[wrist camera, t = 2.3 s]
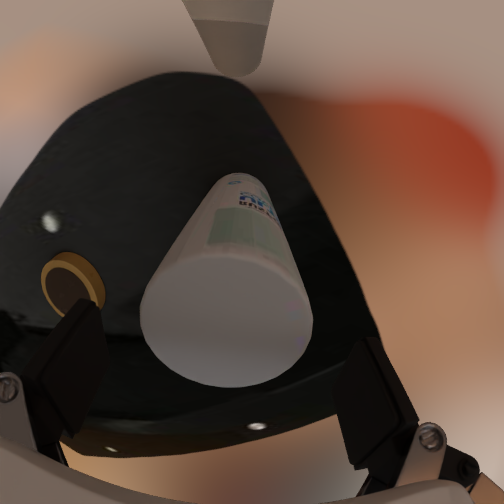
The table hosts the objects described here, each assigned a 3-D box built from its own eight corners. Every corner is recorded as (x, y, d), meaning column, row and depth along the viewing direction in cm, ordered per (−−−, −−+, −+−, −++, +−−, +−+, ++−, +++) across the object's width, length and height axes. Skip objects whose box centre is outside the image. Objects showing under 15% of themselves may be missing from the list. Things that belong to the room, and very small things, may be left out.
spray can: (194, 199, 27) (107, 320, 9) (242, 158, 26) (231, 209, 8) (235, 243, 30) (222, 404, 11) (283, 206, 28) (345, 339, 10)
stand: (45, 246, 29) (34, 255, 27) (101, 257, 30) (92, 267, 28) (57, 305, 33) (48, 315, 31) (109, 320, 34) (102, 332, 31)
